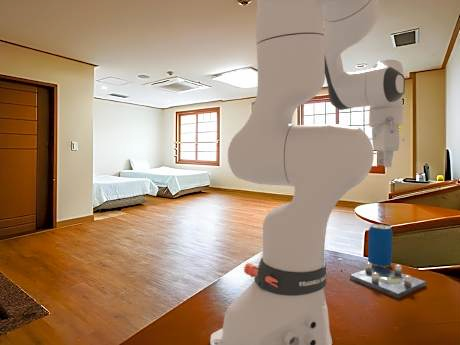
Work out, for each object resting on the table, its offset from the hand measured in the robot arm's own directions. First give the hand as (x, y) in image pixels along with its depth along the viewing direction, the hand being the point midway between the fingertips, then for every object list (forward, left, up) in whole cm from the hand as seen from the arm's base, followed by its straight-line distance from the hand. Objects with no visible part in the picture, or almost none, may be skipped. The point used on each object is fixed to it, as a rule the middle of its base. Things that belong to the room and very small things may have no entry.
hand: (384, 166), depth 88 cm
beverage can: (+1, +1, -31) cm, 31 cm away
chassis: (-9, -7, -31) cm, 33 cm away
